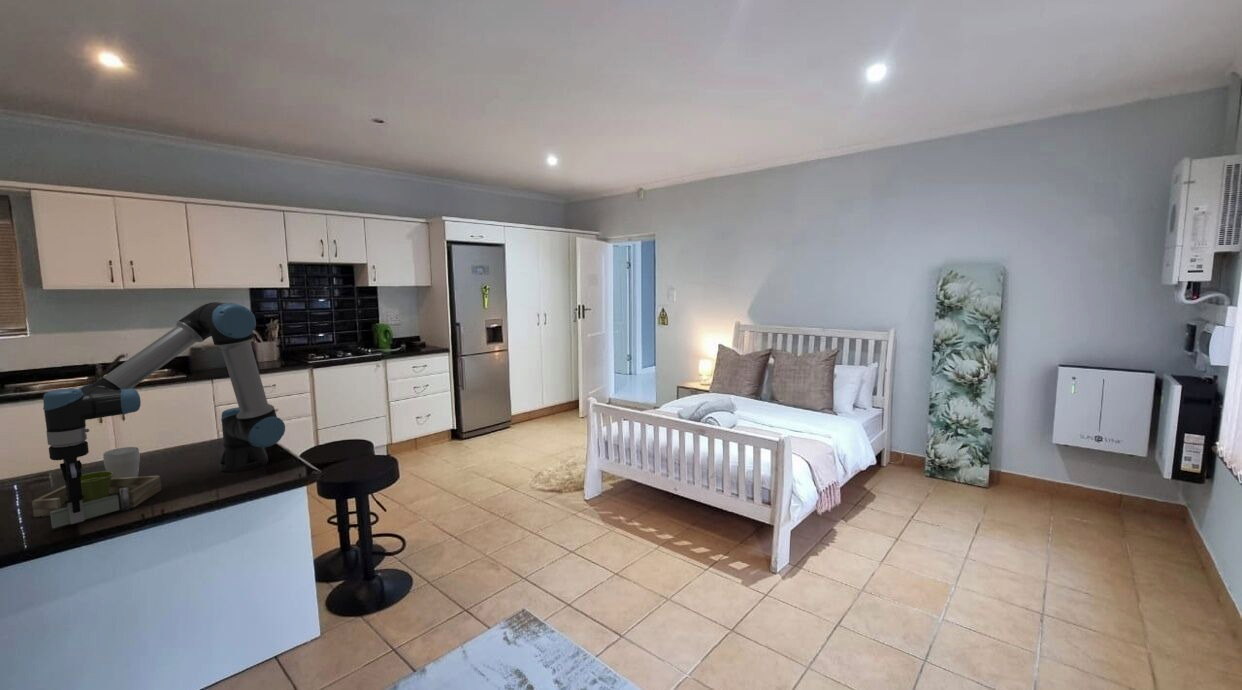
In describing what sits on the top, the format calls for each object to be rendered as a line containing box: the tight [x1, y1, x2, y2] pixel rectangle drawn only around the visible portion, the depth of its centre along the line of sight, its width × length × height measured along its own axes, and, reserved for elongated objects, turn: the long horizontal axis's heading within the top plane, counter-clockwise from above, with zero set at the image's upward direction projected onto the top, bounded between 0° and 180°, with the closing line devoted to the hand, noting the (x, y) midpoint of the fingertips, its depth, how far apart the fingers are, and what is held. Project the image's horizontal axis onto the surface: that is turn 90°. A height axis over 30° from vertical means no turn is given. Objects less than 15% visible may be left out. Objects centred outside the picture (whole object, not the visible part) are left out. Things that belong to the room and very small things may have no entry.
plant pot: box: [81, 470, 113, 503], centre depth 160 cm, size 9×9×9 cm
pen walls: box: [31, 475, 162, 518], centre depth 160 cm, size 24×16×5 cm
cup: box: [102, 446, 141, 478], centre depth 174 cm, size 9×9×12 cm
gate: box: [49, 493, 120, 529], centre depth 148 cm, size 14×1×5 cm, turn 151°
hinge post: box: [119, 487, 131, 512], centre depth 156 cm, size 2×2×7 cm
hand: (77, 521), depth 145 cm, fingers closed
